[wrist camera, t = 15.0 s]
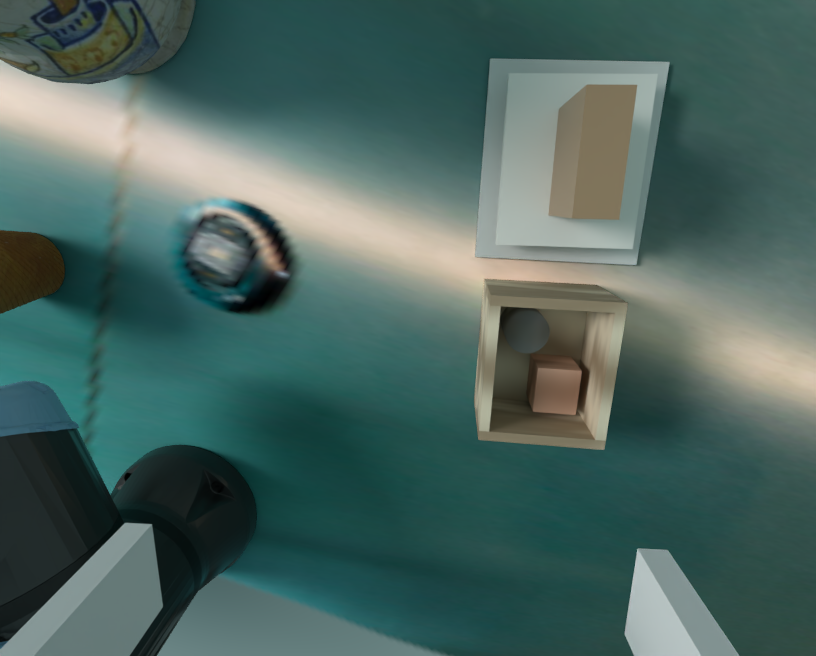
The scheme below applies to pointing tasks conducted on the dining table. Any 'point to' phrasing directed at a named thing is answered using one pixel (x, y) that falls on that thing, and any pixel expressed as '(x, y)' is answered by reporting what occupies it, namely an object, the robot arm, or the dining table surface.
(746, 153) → the dining table surface
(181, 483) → the robot arm
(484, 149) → the tray
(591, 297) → the crate
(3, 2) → the vase
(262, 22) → the dining table surface
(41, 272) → the disposable coffee cup
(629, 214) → the lid
